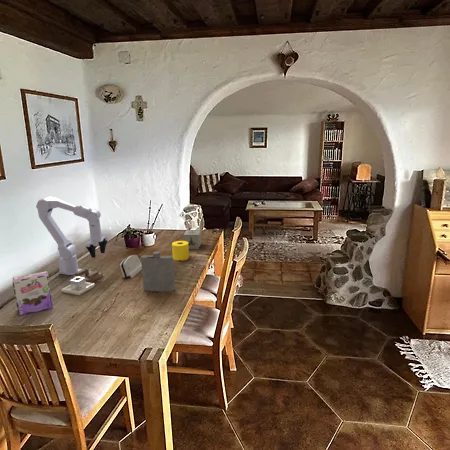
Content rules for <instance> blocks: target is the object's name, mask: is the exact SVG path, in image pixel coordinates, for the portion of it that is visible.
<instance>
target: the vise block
mask: <svg viewBox="0 0 450 450" xmlns="http://www.w3.org/2000/svg"><path fill="white" fill-rule="evenodd" d="M75 277H83V278H85V281H86V282H89V283H94V282H95V281H98V280H99V279H101V278H102V277H104V276H103V272H99V271H91V270H89V268H86V267H85V268H84V269H83V268H82V270H81V271H79V272H77V273H75V274H74V275H72V276H71V280H72V279H73V278H75Z"/></svg>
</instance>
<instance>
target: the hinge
mask: <svg viewBox="0 0 450 450" xmlns="http://www.w3.org/2000/svg"><path fill="white" fill-rule="evenodd" d="M119 269H120V271H121V274H122V278H127V277H128V278H129V277H130V278H131V279H132V278H134V277H135V276H136V275H137V274H138V273H139V272H140V271H142V264H141V259H140V258H139V256H138V255H137V254H133V255H129V256H127V257H125V258H124V259H122V261H120V264H119Z"/></svg>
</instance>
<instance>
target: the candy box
mask: <svg viewBox="0 0 450 450" xmlns="http://www.w3.org/2000/svg"><path fill="white" fill-rule="evenodd" d="M12 287H13V291H14V292H13V293H14V299H15V304H16V305H15V306H16V310H17V315H18V316H23V314H24V315H28V314H32V313H36V312H42V311H47V310H52V309H53V300H52V293H51V286H50V280H49V273H48V271H43V272H35V273H29V274H25V275H24V274H23V275H17V276H12Z"/></svg>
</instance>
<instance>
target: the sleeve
mask: <svg viewBox="0 0 450 450" xmlns="http://www.w3.org/2000/svg"><path fill="white" fill-rule="evenodd" d="M69 283H70V284H69V285H71V290H76V291H80V290H82V289H83V288H85V287H86V281H85V278H83V277H75V278H73V279H72V278H71V279H70V280H69Z"/></svg>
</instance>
